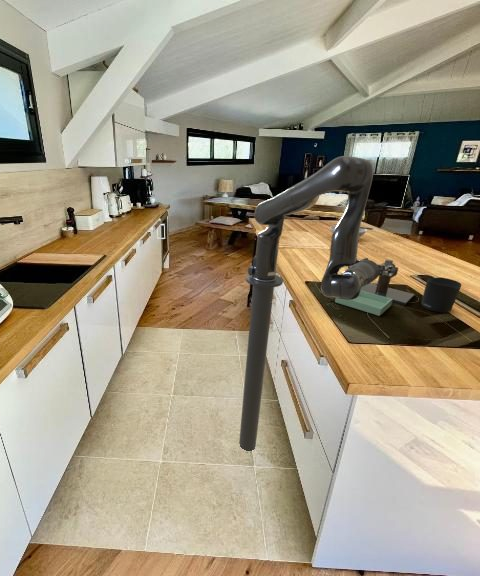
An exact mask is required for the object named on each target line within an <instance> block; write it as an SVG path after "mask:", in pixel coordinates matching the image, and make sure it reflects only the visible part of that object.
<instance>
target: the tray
mask: <svg viewBox="0 0 480 576" xmlns="http://www.w3.org/2000/svg"><path fill="white" fill-rule="evenodd" d="M334 299H335V300H334V303H337V304H340V305H343V306H347V307H349V308H353V309H356V310H360V311H363V312H366V313H368V314H372V315H375V316H378V317H379V316H381V315H382V314H384V313H385V312H386V311H388V309H389V308H390V307H391V306H392V304H393V302H392V300H393V299H391V298H387V297H383V296H380V295H376V294H372V293H368V292H365V291H360V294H359V296H358V297H357V298H355V299H351V300H347V299H339V298H334Z"/></svg>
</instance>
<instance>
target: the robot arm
mask: <svg viewBox="0 0 480 576" xmlns="http://www.w3.org/2000/svg"><path fill="white" fill-rule="evenodd" d="M373 177H374V166H373V164H372V162H371V161H370V160H368V159H366V158H362V157H357V156H349V155H341V156H338V157H335V158H334V159H331V161H329V162H328V163H326V164H325V165H324V166H323V167H322V168H320V169H318V170H317V171H316V172H315V173H313V174H311V175H310V176H309V177H307V178H304V179H303V180H301V181H300V182H298V183H296V184H294V185H292V186H291V187H289V188H287V189H286V190H285V191H282V192H281V193H279V194H277V195H276V196H274V197H272V198H270V199H267V200H265V201H261V202H260V203H259V204H258V205H257V206H256V207H255V209H254V213H253V217H254V220H255V221H256V223H257V224H259V225H262V226H267V227H266V228H265V229H264V230H262V231H259V233H257V236H256V249H255V256H253V260H252V265H251V266H248V267H247V269H248V270H247V275H250V276H251V275H252V278H254V279H255V280H257V281H260V282H272V281H275V275H277V274H276V272H277V265H278V258H279V257H278V255H279V247H280V240H281V236H282V234H283V227H284V221H285V217H286V216H290V215H294V214H299V213H302V212H304V211H306V210H308V209H311V208H312V207H313V206H315V205H316V204H317V202H318V200H319V198H320V196H321V195H325V194H327V193H330V192H343V193H347V203H346V207H345V210H344V213H343V215H342V217H340V219H339V221H338V223H336V224H337V226H336V228H335V230H334V232H333V233H332V235H331V240H330V247H329V249H330V250H329V258H328V262H327V266H326V269H325V271H324V274H323V276H322V279H321V281H320V290H321V291H320V292H321V293H322V295H323V296H324V297H326V298H331V299H336V298H339V299H347V300H351V299H355V298H357V297H358V296H359V294H360V291H361V288H362V287H363V286H366V285H368V284H369V283H373V282H374V281H376V280H377V278H379V275H387V278H391V279H392V278H395V277H396V276H397V275H398V271H399V267H398V266H396V264H395V263H394V262H393V263H392V264H390V265H388V266H387V265H385V264H382V263H379V264H378V263H376V262H375V261H373V260H371V259H369V258H368V257H365V258H359V259H358V250H359V249H358V248H359V231H360V227H361V225H362V220H363V217H364V212H365V211H366V210H365V209H366V206H367V202H368V198H369V194H370V190H371V187H372V182H373ZM381 267H382V268H381ZM342 268H347V269H345V270H343V271H342V272H341V273H339V272H340V270H341V269H342ZM387 268H388V271H386V269H387Z"/></svg>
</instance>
